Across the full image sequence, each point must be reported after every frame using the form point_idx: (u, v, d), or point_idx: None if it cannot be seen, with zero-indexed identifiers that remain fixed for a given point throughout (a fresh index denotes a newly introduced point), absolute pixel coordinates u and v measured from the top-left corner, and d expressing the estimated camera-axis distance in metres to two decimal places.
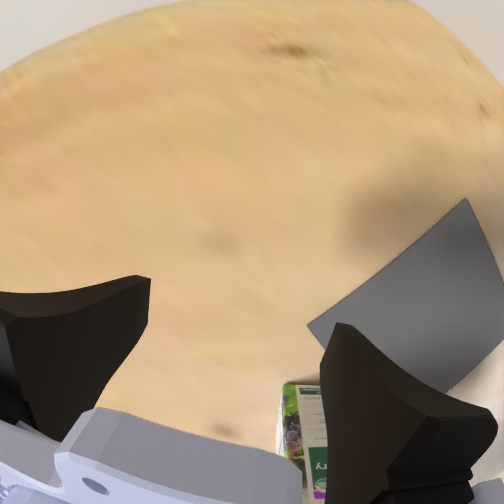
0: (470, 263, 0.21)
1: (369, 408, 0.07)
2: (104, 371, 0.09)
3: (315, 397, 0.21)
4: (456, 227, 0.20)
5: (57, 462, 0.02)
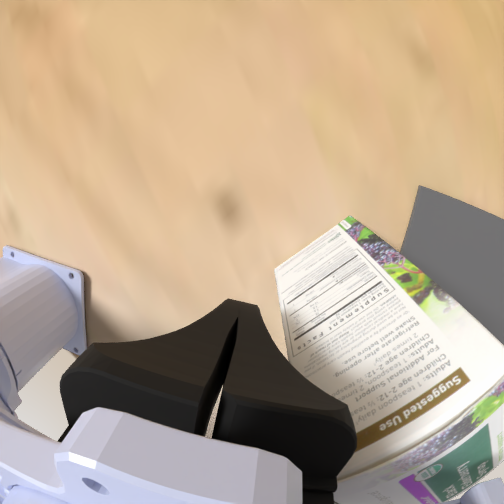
0: None
1: None
2: (212, 405, 0.09)
3: None
4: None
5: (57, 462, 0.02)
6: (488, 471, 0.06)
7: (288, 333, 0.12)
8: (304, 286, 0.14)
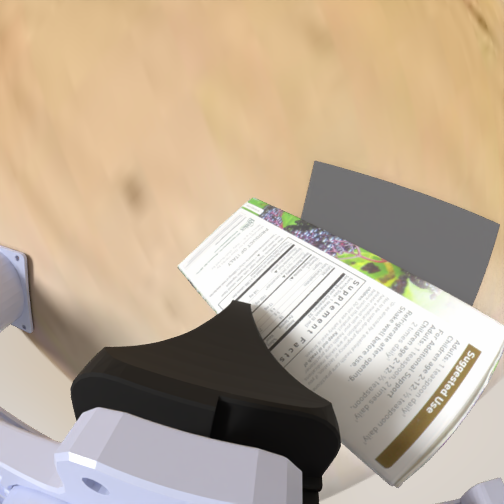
0: (462, 272, 0.20)
1: None
2: None
3: None
4: (478, 233, 0.19)
5: (57, 462, 0.02)
6: None
7: None
8: (239, 285, 0.13)
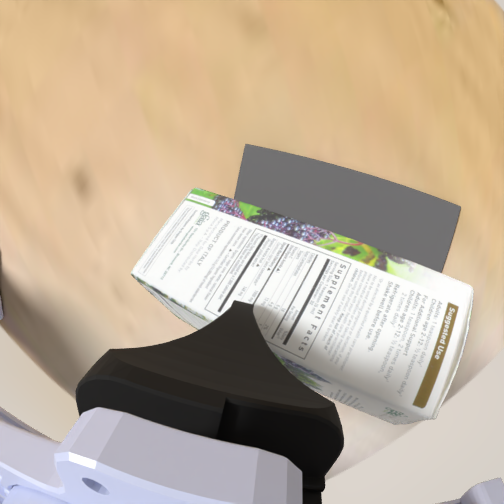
0: (418, 258, 0.20)
1: None
2: None
3: None
4: (435, 215, 0.19)
5: (57, 462, 0.02)
6: None
7: (266, 341, 0.11)
8: (221, 285, 0.13)
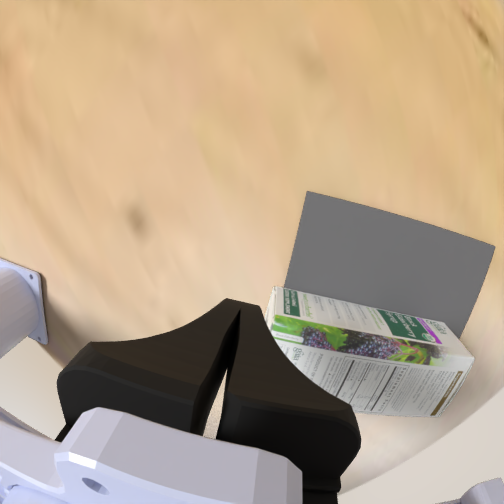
0: (455, 294, 0.21)
1: None
2: (210, 405, 0.09)
3: (304, 309, 0.18)
4: (472, 256, 0.20)
5: (57, 462, 0.02)
6: None
7: (361, 411, 0.18)
8: None
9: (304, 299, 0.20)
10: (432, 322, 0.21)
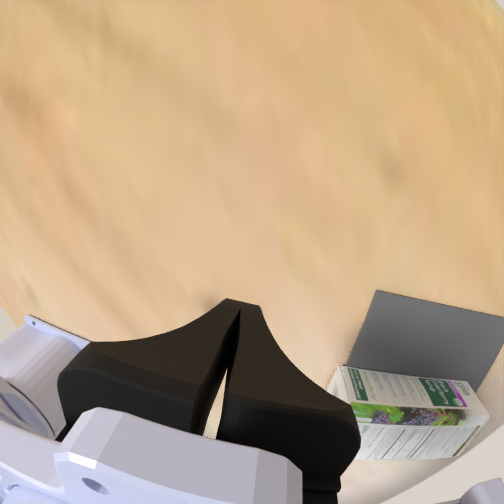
0: (478, 360, 0.22)
1: None
2: (210, 405, 0.09)
3: (369, 391, 0.20)
4: (496, 330, 0.21)
5: (57, 462, 0.02)
6: None
7: (402, 459, 0.19)
8: (382, 451, 0.19)
9: (366, 379, 0.21)
10: (458, 383, 0.22)
